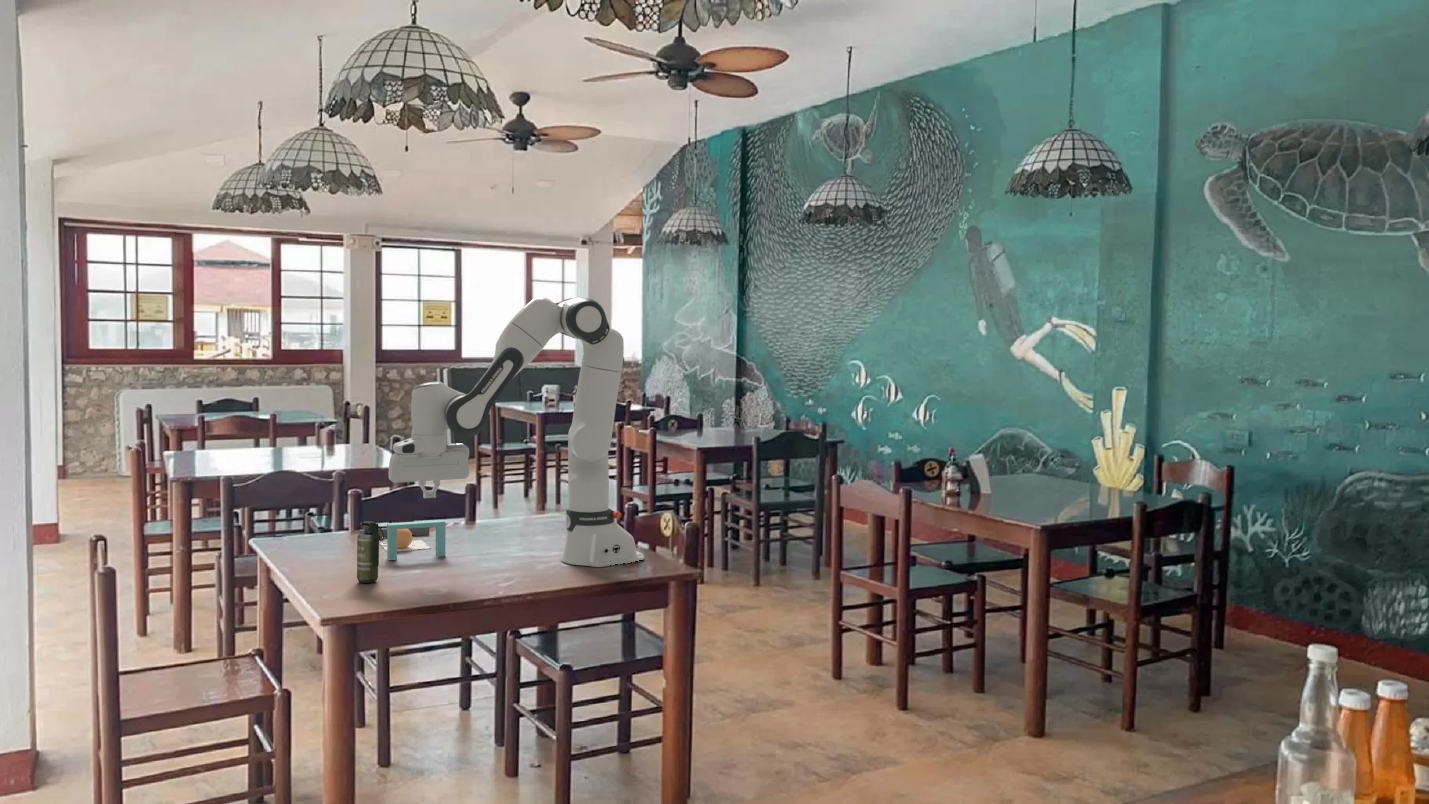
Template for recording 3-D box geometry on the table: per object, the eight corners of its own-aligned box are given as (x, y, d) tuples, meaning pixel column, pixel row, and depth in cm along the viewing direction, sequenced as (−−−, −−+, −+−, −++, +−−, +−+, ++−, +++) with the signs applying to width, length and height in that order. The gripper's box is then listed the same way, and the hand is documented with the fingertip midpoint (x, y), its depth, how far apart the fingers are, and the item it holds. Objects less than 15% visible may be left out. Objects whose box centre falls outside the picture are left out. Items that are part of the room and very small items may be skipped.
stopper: (427, 533, 331) (427, 525, 330) (429, 534, 329) (429, 526, 329) (359, 538, 321) (359, 529, 321) (360, 539, 320) (360, 530, 320)
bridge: (387, 558, 295) (387, 523, 295) (442, 554, 302) (442, 519, 302) (389, 561, 293) (389, 525, 292) (445, 556, 300) (445, 521, 299)
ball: (412, 522, 310) (416, 540, 307) (407, 534, 314) (411, 552, 310) (391, 523, 307) (394, 541, 303) (386, 535, 311) (390, 553, 307)
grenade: (352, 582, 269) (352, 522, 268) (369, 578, 274) (369, 519, 273) (370, 586, 266) (370, 525, 265) (387, 581, 271) (387, 521, 270)
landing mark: (421, 540, 320) (421, 539, 320) (430, 548, 309) (430, 548, 309) (379, 543, 314) (379, 542, 314) (387, 552, 304) (387, 551, 304)
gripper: (466, 441, 289) (466, 493, 290) (386, 444, 280) (387, 498, 281) (472, 444, 283) (472, 497, 285) (391, 447, 274) (392, 502, 275)
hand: (429, 497), depth 283 cm, fingers closed
